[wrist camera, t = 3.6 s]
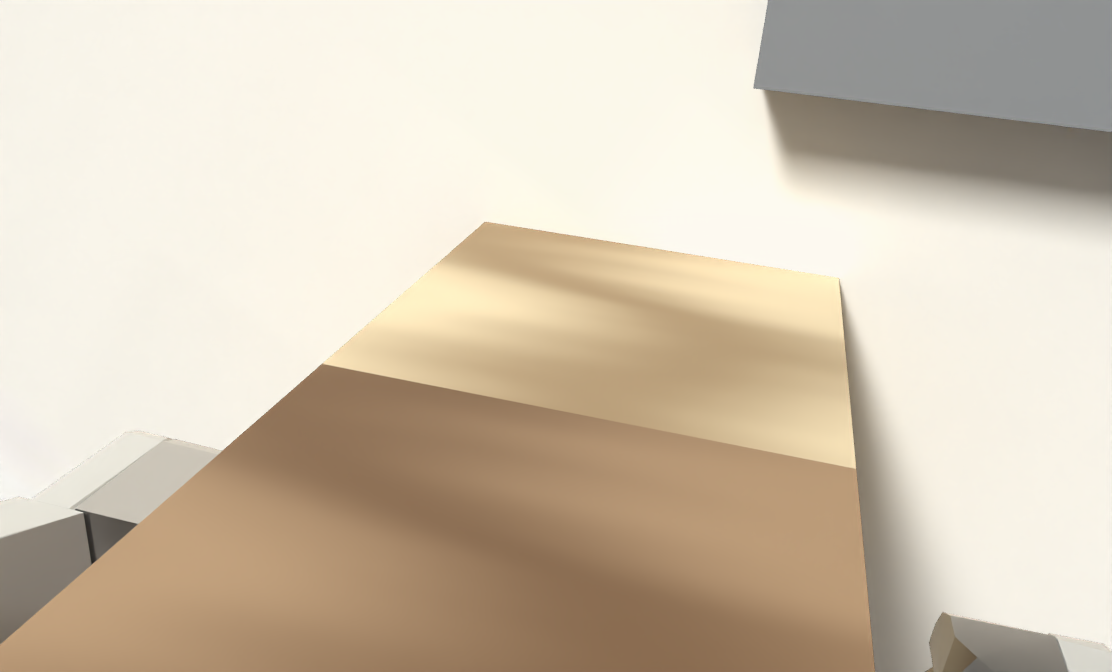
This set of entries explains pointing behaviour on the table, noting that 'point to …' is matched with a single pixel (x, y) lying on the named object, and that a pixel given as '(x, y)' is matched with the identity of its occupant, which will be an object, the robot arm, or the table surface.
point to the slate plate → (947, 56)
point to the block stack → (516, 488)
